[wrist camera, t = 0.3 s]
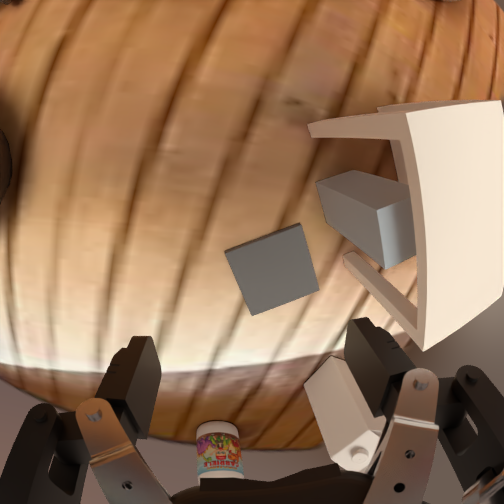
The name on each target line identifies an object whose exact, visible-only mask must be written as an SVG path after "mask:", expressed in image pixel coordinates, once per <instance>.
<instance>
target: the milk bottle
mask: <svg viewBox="0 0 504 504" xmlns="http://www.w3.org/2000/svg"><path fill="white" fill-rule="evenodd" d="M197 471H198V482H199V486H200V478H229V477H235V478H242V479H244V474H243V465H242V458H241V450H240V443H239V435H238V430H237V428H236V427H235V426H234V425H233V424H231V423H228V422H224V421H210V422H206V423H204V424H202V425H200V426H199V427H198V429H197Z"/></svg>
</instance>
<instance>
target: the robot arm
mask: <svg viewBox="0 0 504 504" xmlns="http://www.w3.org/2000/svg"><path fill="white" fill-rule="evenodd" d="M344 357H345V361H346V363H347V365H348V367H349V369H350V371H351V373H352V375H353V377H354V379H355V381H356V383H357V385H358V387H359V389H360V391H361V393H362V395H363V397H364V399H365V401H366V403H367V405H368V407H369V409H370V411H371V413H372V415H373V417H374V418H377V417H380V416H383V415H384V416H385V418H386V422H385V424H384V427H383V429H382V432H381V435H380V438H379V441H378V443H377V446H376V449H375V451H374V454H373V456H372V459H371V461H370V463H369V465H368V467H367V469H366V471H365V473H361V472H356V471H348V470H340V469H339V466H338V463H334V464H330V465H326V466H321V467H316V468H312V469H305V470H303V471H300V472H298V473H295V474H292V475H290V476H287V477H285V478H281V479H278V480H275V481H272V482H266V481H257V480H249V479H242V478H235V477H229V478H200V486H195V487H191V488H188V489H185V490H183V491H180V492H178V493H177V494H175V495H173V496H172V497H171V496H170V494H169V493H168V492H167V491H166V489H165V488H164V487H163V486H162V484H161V483H160V482H159V480H158V479H157V478H156V476H155V475H154V473H153V472H152V470H151V469H150V468H149V466H148V465H147V463H146V462H145V460H144V459H143V457H142V456H141V454H140V452H139V451H138V449H137V448H136V446H135V445H136V441H137V439H147V437H148V432H149V427H150V423H151V418H152V414H153V410H154V405H155V401H156V397H157V393H158V388H159V384H160V380H161V366H160V362H159V359H158V356H157V352H156V349H155V346H154V342H153V339H152V337H151V336H133V337H132V338H131V340H130V342H129V345H128V347H127V348H121V349H120V350H119V351H118V352H117V353H116V354H115V355H114V356H113V358H112V360H111V363H110V366H109V367H108V369H107V373H105V375H104V377H103V380H102V382H101V384H100V386H99V388H98V391H97V393H96V395H95V398H92V399H88V400H86V401H84V402H83V403H81V404H80V405H79V407H78V408H77V410H76V411H75V412H66V413H58V412H57V411H56V409H55V408H54V407H53V406H52V405H50V404H47V403H41V404H38V405H36V406H34V407H33V408H32V409H30V411H29V412H28V414H27V416H26V418H25V420H24V422H23V424H22V427H21V429H20V431H19V433H18V435H17V437H16V440H15V442H14V444H13V447H12V449H11V452H10V454H9V456H8V459H7V461H6V464H5V467H4V469H3V472H2V475H1V477H0V504H80V501H81V496H82V491H83V486H84V482H85V477H86V472H87V469H88V464H90V466H91V468H92V471H93V473H94V475H95V477H96V479H97V481H98V483H99V485H100V487H101V489H102V491H103V493H104V495H105V497H106V499H107V501H108V502H109V504H429V503H427V502H425V501H423V497H424V494H425V491H426V487H427V483H428V480H429V475H430V472H431V467H432V463H433V459H434V454H435V448H436V443H437V438H438V439H439V441H440V443H441V445H442V447H443V449H444V451H445V452H446V454H447V456H448V458H449V461H450V462H451V465H452V467H453V469H454V471H455V473H456V475H457V477H458V479H459V481H460V483H461V486H462V488H463V490H464V492H465V493H464V495H463V498H462V504H504V397H503V396H502V395H501V394H500V392H499V391H498V389H497V388H496V387H495V386H494V384H493V383H492V382H491V381H490V380H489V378H488V377H487V376H486V375H485V374H484V372H483V371H482V370H481V369H479V368H478V367H475V366H471V365H466V366H462V367H461V368H459V369H458V371H457V373H456V375H455V377H449V378H437V377H436V375H435V374H434V373H432V372H431V371H429V370H426V369H421V368H416V366H415V365H414V364H413V362H412V361H411V360H410V359H409V357H408V356H407V355H406V353H405V352H404V351H403V350H402V348H400V346H399V344H398V343H397V342H395V339H394V338H393V337H392V336H391V334H390V333H389V332H387V331H386V330H384V329H382V328H381V327H375V326H374V325H373V323H372V322H371V321H370V319H369V318H367V317H364V318H358V319H352V320H350V321H349V322H348V327H347V334H346V341H345V347H344ZM467 414H469V416H470V417H471V419H472V420H473V422H474V424H475V425H476V427H477V429H478V436H477V434H476V433H475V431H474V429H473V428H472V426H471V425H470V423H469V421H468V420H467V418H466V416H467ZM53 454H54V458H53V461H52V464H51V467H50V470H49V473H48V469H49V466H50V463H51V459H52V456H53Z"/></svg>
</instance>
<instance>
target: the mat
mask: <svg viewBox="0 0 504 504" xmlns="http://www.w3.org/2000/svg"><path fill="white" fill-rule="evenodd" d="M225 255H226V257H227V260H228V262H229V264H230V267H231V269H232V271H233V274H234V276H235V278H236V281H237V283H238V285H239V288H240V290H241V292H242V295H243V297H244V299H245V301H246V304H247V306H248V308H249V311H250V313H251V315H252V316H254V315H256V314H259V313H262V312H264V311H267V310H270V309H273V308H275V307H278V306H281V305H283V304H286V303H288V302H291V301H294V300H296V299H299V298H301V297H304V296H306V295H309V294H311V293H314V292H316V291H319V286H318V282H317V279H316V275H315V271H314V267H313V264H312V260H311V257H310V253H309V249H308V246H307V242H306V239H305V235H304V232H303V229H302V225H301V224H300V223H298V224H295V225H293V226H290V227H287V228H284V229H282V230H279V231H276V232H274V233H271V234H268V235H266V236H263V237H260V238H258V239H255V240H253V241H250V242H247V243H245V244H242V245H239V246H237V247H234V248H231V249H229V250H226V251H225Z"/></svg>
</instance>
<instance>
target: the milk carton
mask: <svg viewBox="0 0 504 504" xmlns="http://www.w3.org/2000/svg"><path fill="white" fill-rule="evenodd" d="M304 387H305V390H306V393H307V395H308V398H309V401H310V404H311V406H312V409H313V412H314V414H315V417H316V420H317V423H318V425H319V428H320V431H321V433H322V436H323V439H324V442H325V444H326V447H327V450H328V452H329V455H330V458H331V459H332V460H333V461H334V462H336V463H338V464H339V465H340V466H341V467H343V468H344V469H346V470H348V471H356V472H361V473H365V471H366V469H367V467H368V465H369V463H370V461H371V459H372V456H373V454H374V451H375V449H376V446H377V443H378V441H379V438H380V435H381V432H382V429H383V427H384V424H385V422H386V418H385V416H384V415H383V416H380V417H377V418H374V417H373V415H372V413H371V411H370V409H369V407H368V405H367V403H366V401H365V399H364V397H363V395H362V393H361V391H360V389H359V387H358V385H357V383H356V381H355V379H354V377H353V375H352V373H351V371H350V369H349V367H348V365H347V363H346V361H344V360H341V359H338V358H335V357H333V356H330V357H329V358H328V359H327V360H326V361H325V363H324V364H323V365H322V366H321V367H320V368H319V369H318V370H317V371H316V372H315V373H314V374H313V375H312V376H311V377H310V378H309V379H308V380H307V381H306V382H305V383H304Z"/></svg>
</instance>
